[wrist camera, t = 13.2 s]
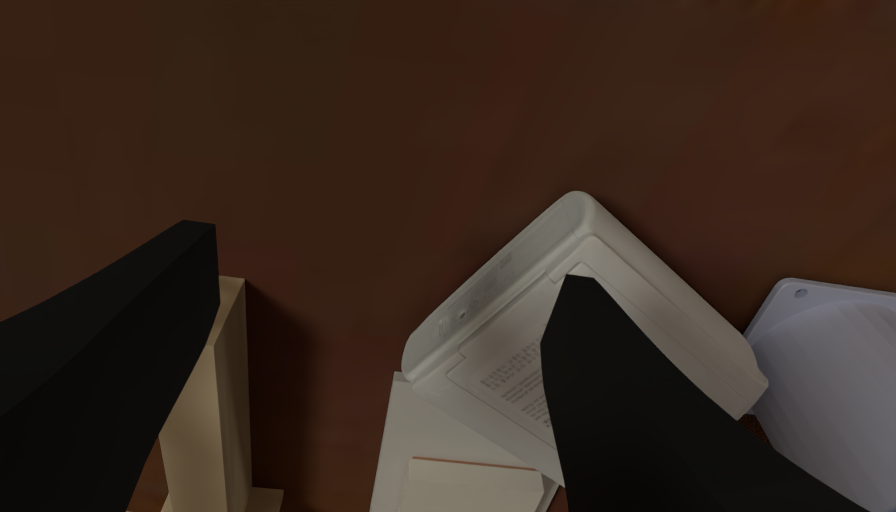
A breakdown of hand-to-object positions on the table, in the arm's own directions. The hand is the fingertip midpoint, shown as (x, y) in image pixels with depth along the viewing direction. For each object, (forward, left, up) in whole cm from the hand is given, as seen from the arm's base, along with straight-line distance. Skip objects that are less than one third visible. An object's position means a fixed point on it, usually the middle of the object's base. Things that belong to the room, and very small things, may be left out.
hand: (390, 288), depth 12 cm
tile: (-6, +18, -8) cm, 20 cm away
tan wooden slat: (+7, +16, -10) cm, 20 cm away
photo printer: (-3, +5, -7) cm, 10 cm away
